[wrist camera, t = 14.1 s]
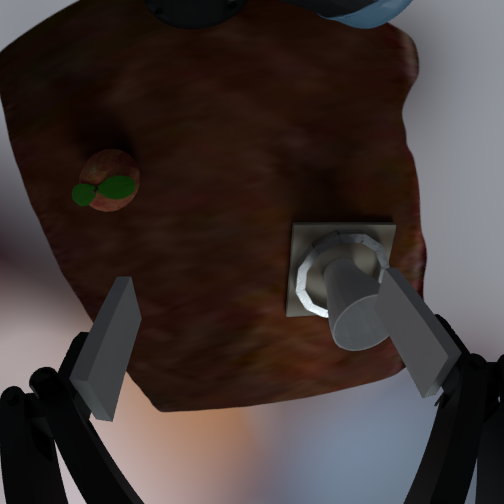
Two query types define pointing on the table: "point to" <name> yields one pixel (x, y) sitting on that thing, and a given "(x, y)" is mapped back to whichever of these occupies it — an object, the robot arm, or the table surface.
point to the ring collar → (325, 244)
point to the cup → (352, 306)
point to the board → (331, 256)
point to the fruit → (107, 181)
